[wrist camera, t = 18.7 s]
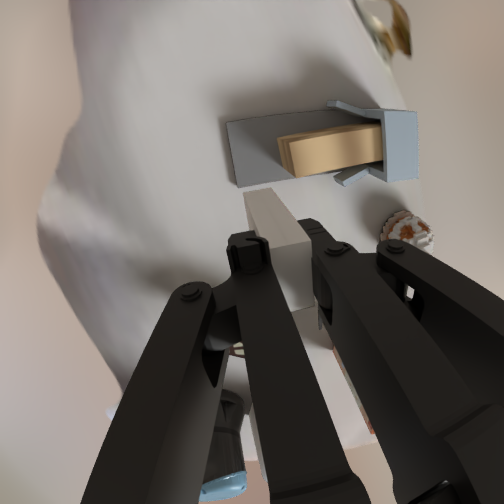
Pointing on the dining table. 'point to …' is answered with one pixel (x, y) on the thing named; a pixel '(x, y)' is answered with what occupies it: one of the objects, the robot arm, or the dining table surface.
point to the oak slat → (331, 148)
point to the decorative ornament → (409, 231)
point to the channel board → (272, 127)
